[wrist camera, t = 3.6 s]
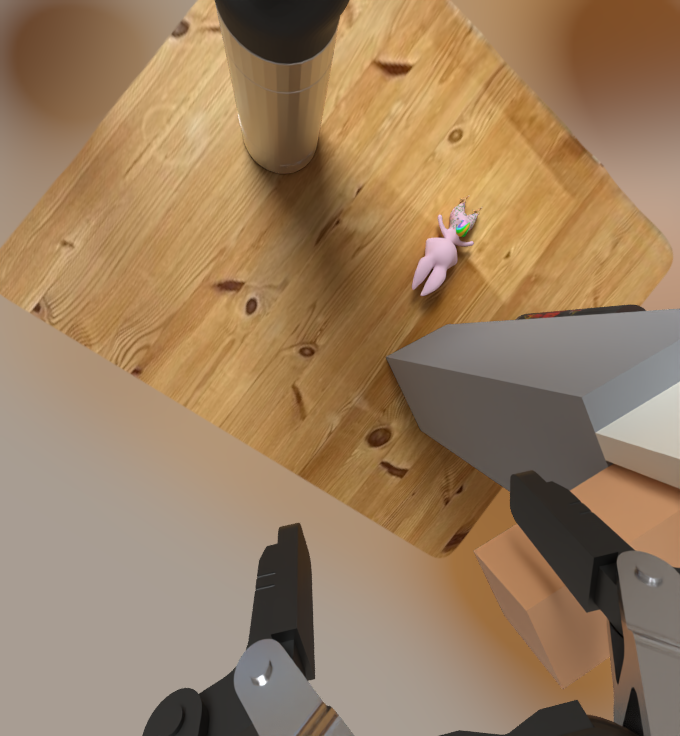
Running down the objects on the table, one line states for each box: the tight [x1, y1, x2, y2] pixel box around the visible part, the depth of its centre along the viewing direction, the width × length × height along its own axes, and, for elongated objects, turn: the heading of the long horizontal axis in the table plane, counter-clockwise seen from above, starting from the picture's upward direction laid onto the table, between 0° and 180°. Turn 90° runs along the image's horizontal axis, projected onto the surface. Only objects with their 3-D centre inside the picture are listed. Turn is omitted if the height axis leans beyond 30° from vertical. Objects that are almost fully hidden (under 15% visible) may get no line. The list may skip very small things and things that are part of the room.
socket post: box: [386, 309, 680, 491], centre depth 30 cm, size 12×10×36 cm
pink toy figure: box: [412, 196, 482, 296], centre depth 44 cm, size 6×6×15 cm
